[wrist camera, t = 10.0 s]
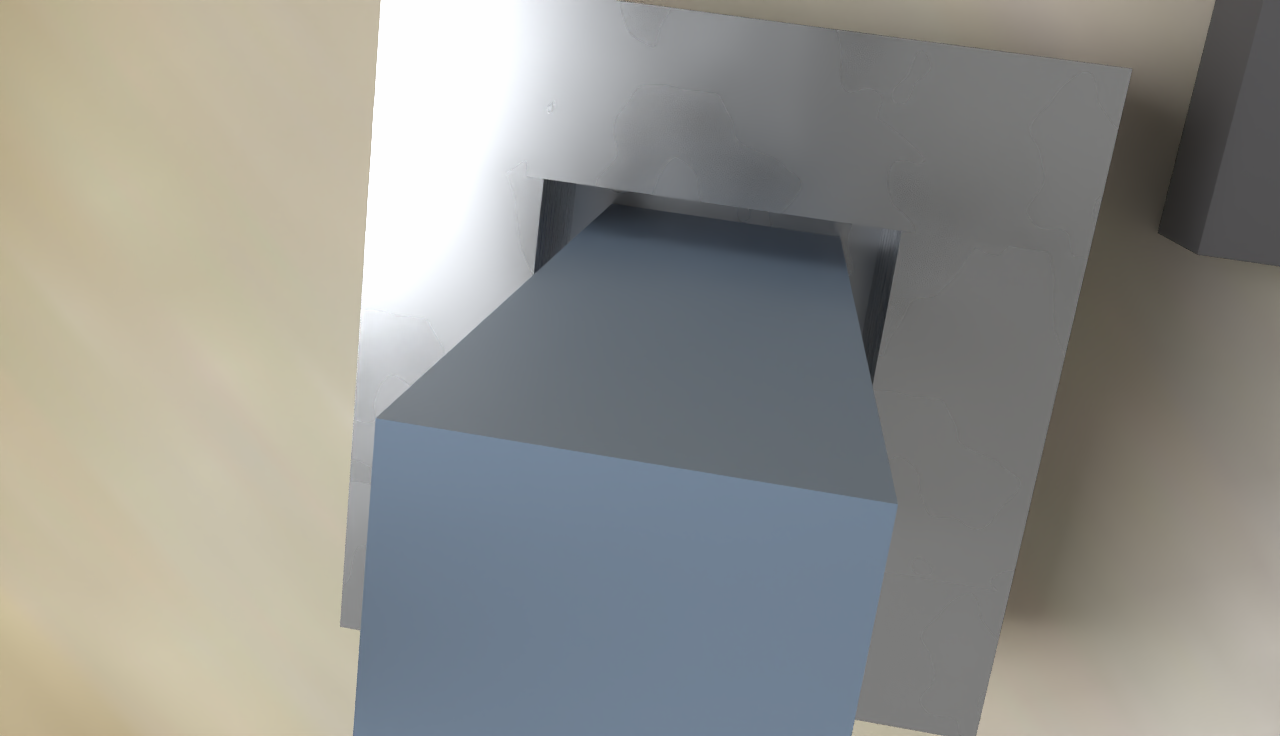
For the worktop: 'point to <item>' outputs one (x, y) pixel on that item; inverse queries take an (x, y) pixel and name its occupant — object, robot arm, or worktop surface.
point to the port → (775, 197)
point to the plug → (634, 499)
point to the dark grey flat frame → (1232, 141)
